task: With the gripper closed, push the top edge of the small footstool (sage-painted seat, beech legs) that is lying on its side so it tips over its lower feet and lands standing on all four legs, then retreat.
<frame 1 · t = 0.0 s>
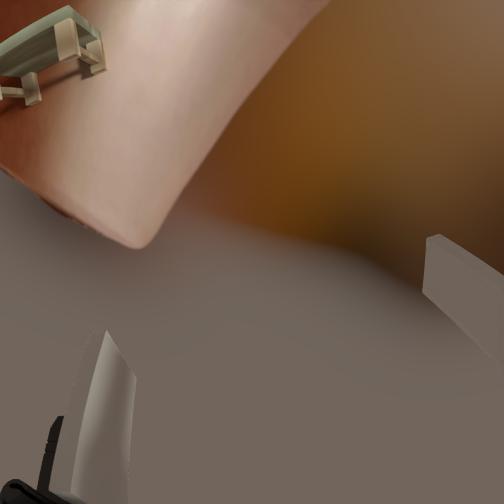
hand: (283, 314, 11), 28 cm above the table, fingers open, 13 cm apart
footstool: (60, 49, 25), on the table
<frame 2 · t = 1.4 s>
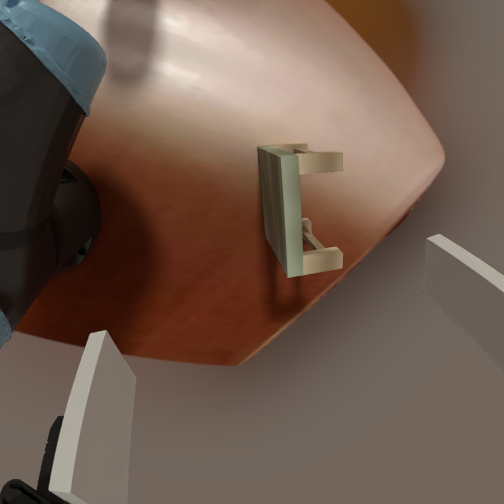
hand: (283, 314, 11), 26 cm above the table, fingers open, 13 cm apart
footstool: (261, 192, 36), on the table
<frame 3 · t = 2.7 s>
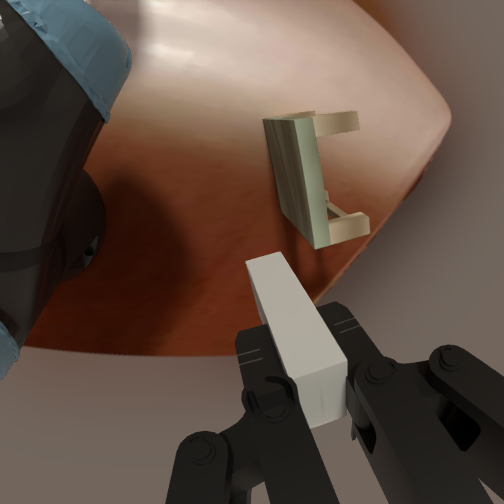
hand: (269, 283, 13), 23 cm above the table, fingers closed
footstool: (272, 166, 34), on the table
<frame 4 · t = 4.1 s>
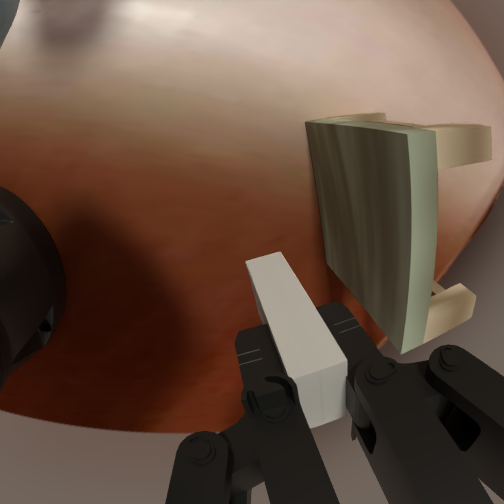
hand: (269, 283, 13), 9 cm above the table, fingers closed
footstool: (317, 197, 22), on the table
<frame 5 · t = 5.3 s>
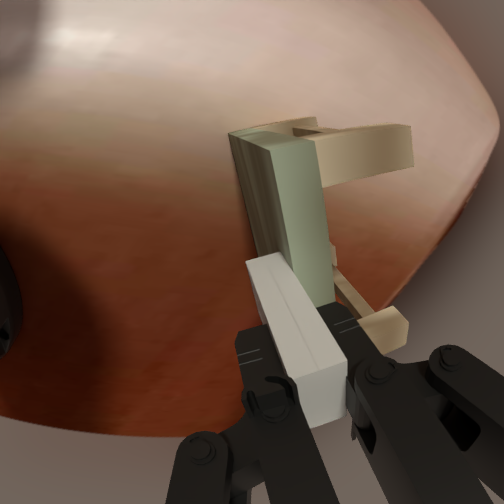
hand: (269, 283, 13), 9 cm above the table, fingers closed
footstool: (246, 210, 21), on the table, touching gripper
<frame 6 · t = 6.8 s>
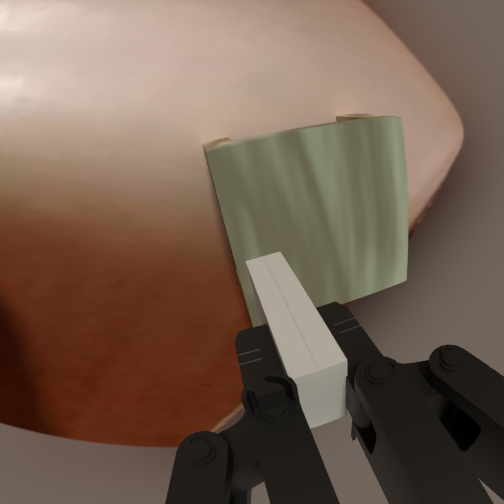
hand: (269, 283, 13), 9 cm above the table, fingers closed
footstool: (233, 254, 16), point 5 cm above the table, tilted 90°
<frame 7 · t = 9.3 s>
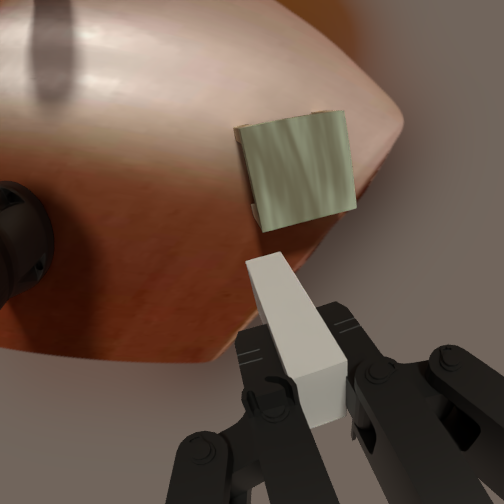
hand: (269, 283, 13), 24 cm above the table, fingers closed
footstool: (252, 182, 30), point 5 cm above the table, tilted 90°
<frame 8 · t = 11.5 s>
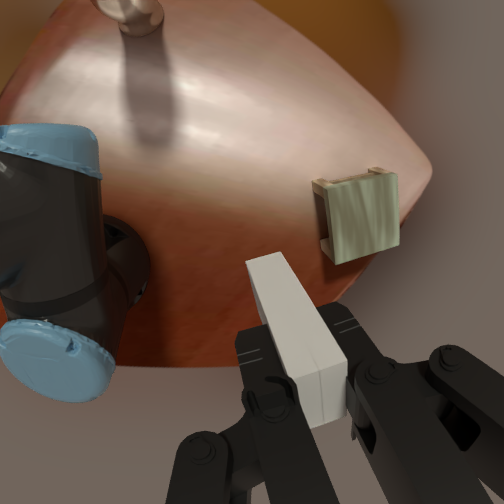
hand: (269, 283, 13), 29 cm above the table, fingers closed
beer glass: (141, 17, 29), on the table
footstool: (332, 229, 40), point 5 cm above the table, tilted 90°
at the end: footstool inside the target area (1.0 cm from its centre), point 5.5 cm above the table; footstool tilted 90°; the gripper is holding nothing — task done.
